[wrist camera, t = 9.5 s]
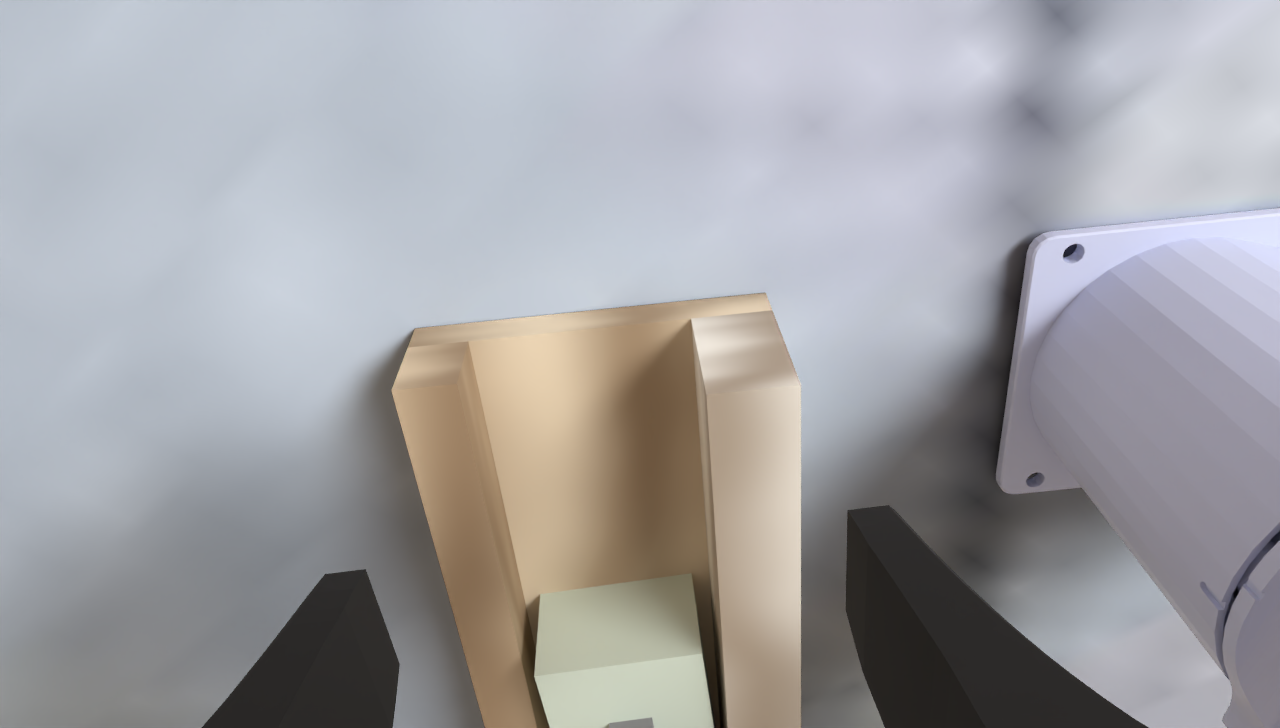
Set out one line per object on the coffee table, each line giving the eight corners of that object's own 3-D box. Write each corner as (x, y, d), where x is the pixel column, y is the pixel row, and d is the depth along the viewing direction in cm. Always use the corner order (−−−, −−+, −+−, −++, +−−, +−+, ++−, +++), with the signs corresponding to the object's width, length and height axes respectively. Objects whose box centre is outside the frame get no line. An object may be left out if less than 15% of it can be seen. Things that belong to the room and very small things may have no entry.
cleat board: (765, 292, 22) (800, 385, 19) (776, 780, 33) (800, 906, 29) (414, 328, 23) (377, 427, 19) (534, 803, 33) (525, 932, 29)
